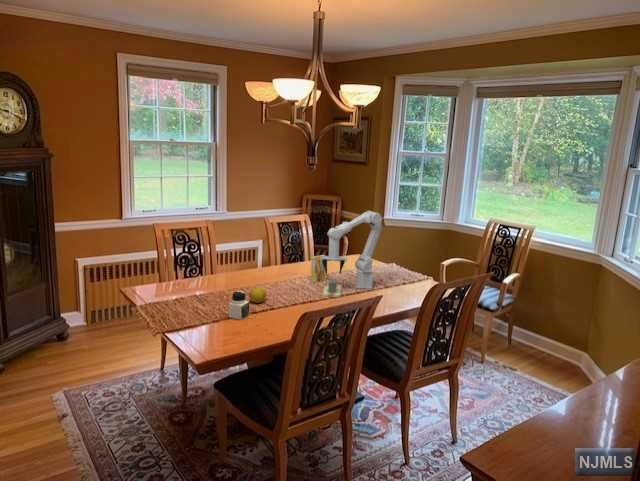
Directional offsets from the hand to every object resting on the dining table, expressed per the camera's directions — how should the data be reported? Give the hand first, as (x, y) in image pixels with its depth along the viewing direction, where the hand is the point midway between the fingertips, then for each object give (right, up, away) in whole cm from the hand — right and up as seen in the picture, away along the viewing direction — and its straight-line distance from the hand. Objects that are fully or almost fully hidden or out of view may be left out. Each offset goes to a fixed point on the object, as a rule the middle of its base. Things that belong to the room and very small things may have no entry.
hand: (333, 273), depth 272 cm
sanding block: (-1, -10, -4) cm, 11 cm away
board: (0, -10, 0) cm, 10 cm away
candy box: (-8, -6, +18) cm, 21 cm away
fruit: (-40, -14, -20) cm, 47 cm away
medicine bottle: (-46, -18, -40) cm, 64 cm away
